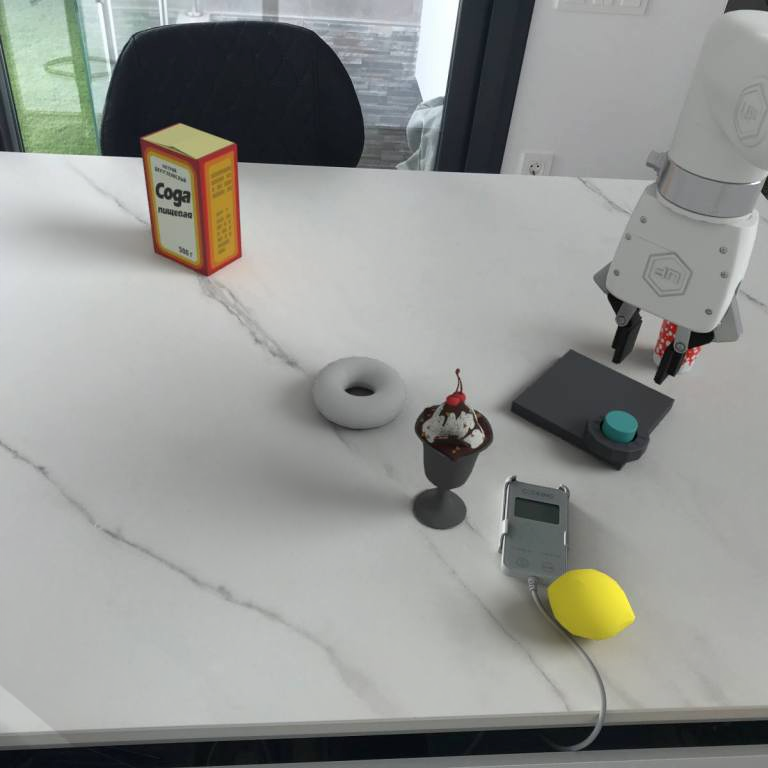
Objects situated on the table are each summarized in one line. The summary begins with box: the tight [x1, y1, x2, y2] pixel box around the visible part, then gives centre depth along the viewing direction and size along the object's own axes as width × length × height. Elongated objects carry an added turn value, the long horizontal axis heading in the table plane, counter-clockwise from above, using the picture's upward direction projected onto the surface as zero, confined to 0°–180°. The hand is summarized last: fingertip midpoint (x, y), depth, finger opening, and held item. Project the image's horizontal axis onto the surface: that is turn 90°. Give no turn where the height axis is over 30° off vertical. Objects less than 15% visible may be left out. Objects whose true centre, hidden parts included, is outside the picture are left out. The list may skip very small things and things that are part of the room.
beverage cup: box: [652, 319, 704, 375], centre depth 88 cm, size 6×6×14 cm
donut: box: [311, 356, 408, 430], centre depth 81 cm, size 10×4×10 cm
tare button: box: [602, 411, 638, 443], centre depth 78 cm, size 3×3×2 cm
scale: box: [510, 348, 676, 471], centre depth 83 cm, size 14×14×3 cm
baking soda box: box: [139, 122, 243, 277], centre depth 98 cm, size 10×6×16 cm
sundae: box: [413, 368, 494, 530], centre depth 67 cm, size 7×7×15 cm
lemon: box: [547, 568, 636, 642], centre depth 62 cm, size 7×5×5 cm
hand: (642, 365), depth 73 cm, fingers open, 3 cm apart
